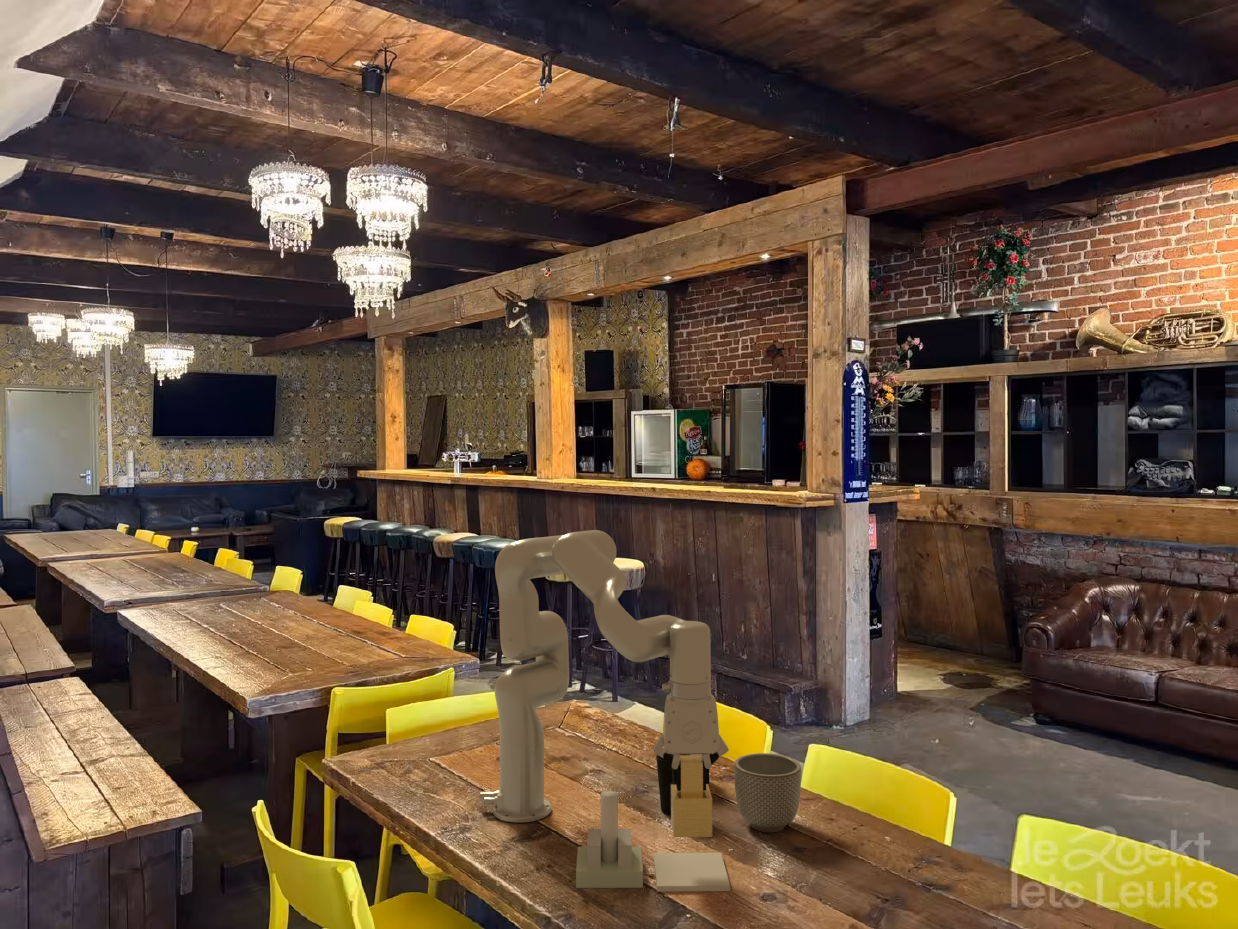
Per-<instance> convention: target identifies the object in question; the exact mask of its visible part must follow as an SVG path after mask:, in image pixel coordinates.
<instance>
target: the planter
mask: <svg viewBox="0 0 1238 929" xmlns="http://www.w3.org/2000/svg"><path fill="white" fill-rule="evenodd" d="M733 774H734V789H735V800H736V805H737V808H738V812H739V814H740V816H741V817H742V818H743V819H744V820H745V821H747V822H748V823H749V825H750V826H751V827H752V829H753V830H756V831H758V832H762V833H777V832H781V831H782V830H783V829H784V828H785V827H786V825H788V824H790V823H791V822H792V821H793V820H794V819H796V816H797V814H798V811H799V805H800V796H801V785H802V766H801V764H800V762H798V761H797V760H796V759H794V758H792V757H790V756H786V755H782V754H778V753H768V752H767V753H766V752H762V753H761V752H759V753H758V752H757V753H750V754H745V755H741V756H739V757H738V758H737V759H736V760H735V761H734V765H733Z"/></svg>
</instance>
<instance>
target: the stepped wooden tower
mask: <svg viewBox="0 0 1238 929" xmlns="http://www.w3.org/2000/svg"><path fill="white" fill-rule="evenodd" d="M679 764H680V769H681V790H680V791H677V787H676V785H673V784H671V816H670V822H671V829H672V835H673V838H710V837H711V838H712V837H713V796H712V793H711V789H710V787H709V786H710V785H709V784H706V791H703V762H702V758H701V755H680V760H679Z"/></svg>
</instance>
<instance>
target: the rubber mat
mask: <svg viewBox="0 0 1238 929" xmlns="http://www.w3.org/2000/svg"><path fill="white" fill-rule="evenodd" d="M653 862H654V863H653V864H654V865H655V866H654V865H653V866H654V873H655V874H654V875H655V884H656V892H657V893H658V892H660V893H661V892H662V893H663V892H664V893H665V892H666V893H667V892H674V893H676V892H677V893H679V892H731V884H730V883H731V882H730V880H729V876H728V873H727V870H726V869H727V868H726V866H725V862H724V858H723V855H722V852H653Z"/></svg>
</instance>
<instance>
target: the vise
mask: <svg viewBox="0 0 1238 929" xmlns="http://www.w3.org/2000/svg"><path fill="white" fill-rule="evenodd" d="M587 830H588V831H587V845H586V846H578V847H577V853H576V854H577V855H576V869H575V888H576V889H620V888H622V889H625V888H626V889H632V888H633V889H634V888H638V889H639V888H640V889H641V888H644V867H643V858H642V857H643V855H642V846H641V845H640V846H639V845H638V846H637V845H636V846H635V845H634V846H633V845H632V832H631V831H632V830H631V828H619V793H618V792H617V791H614V790H613V791H612V790H606V791H605V790H604V791H602V792H601V793H600V828H592V829H591V828H589V829H587Z"/></svg>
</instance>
